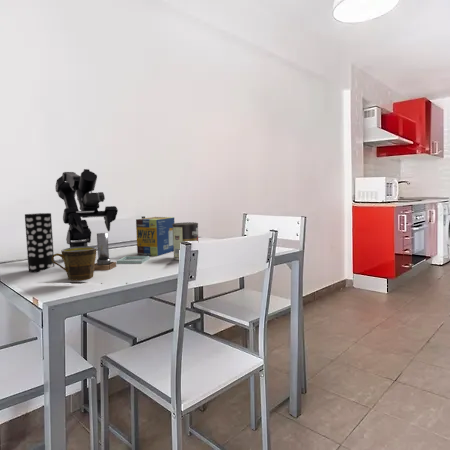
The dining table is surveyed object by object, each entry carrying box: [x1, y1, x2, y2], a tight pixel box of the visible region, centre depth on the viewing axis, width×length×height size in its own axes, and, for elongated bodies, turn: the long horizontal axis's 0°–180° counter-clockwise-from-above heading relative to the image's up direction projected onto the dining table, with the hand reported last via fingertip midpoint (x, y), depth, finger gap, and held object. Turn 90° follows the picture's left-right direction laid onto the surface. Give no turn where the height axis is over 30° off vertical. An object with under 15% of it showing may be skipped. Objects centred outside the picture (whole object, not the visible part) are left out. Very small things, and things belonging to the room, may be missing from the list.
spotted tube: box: [24, 212, 55, 273], centre depth 133 cm, size 8×8×20 cm
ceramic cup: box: [52, 246, 97, 285], centre depth 113 cm, size 13×10×10 cm
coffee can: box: [172, 221, 199, 261], centre depth 150 cm, size 10×10×14 cm
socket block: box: [94, 261, 117, 271], centre depth 129 cm, size 7×7×2 cm
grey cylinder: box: [96, 232, 111, 265], centre depth 129 cm, size 4×4×12 cm
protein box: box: [135, 216, 175, 257], centre depth 166 cm, size 10×15×16 cm
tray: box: [116, 255, 150, 264], centre depth 142 cm, size 10×10×2 cm
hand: (96, 231), depth 134 cm, fingers open, 9 cm apart
